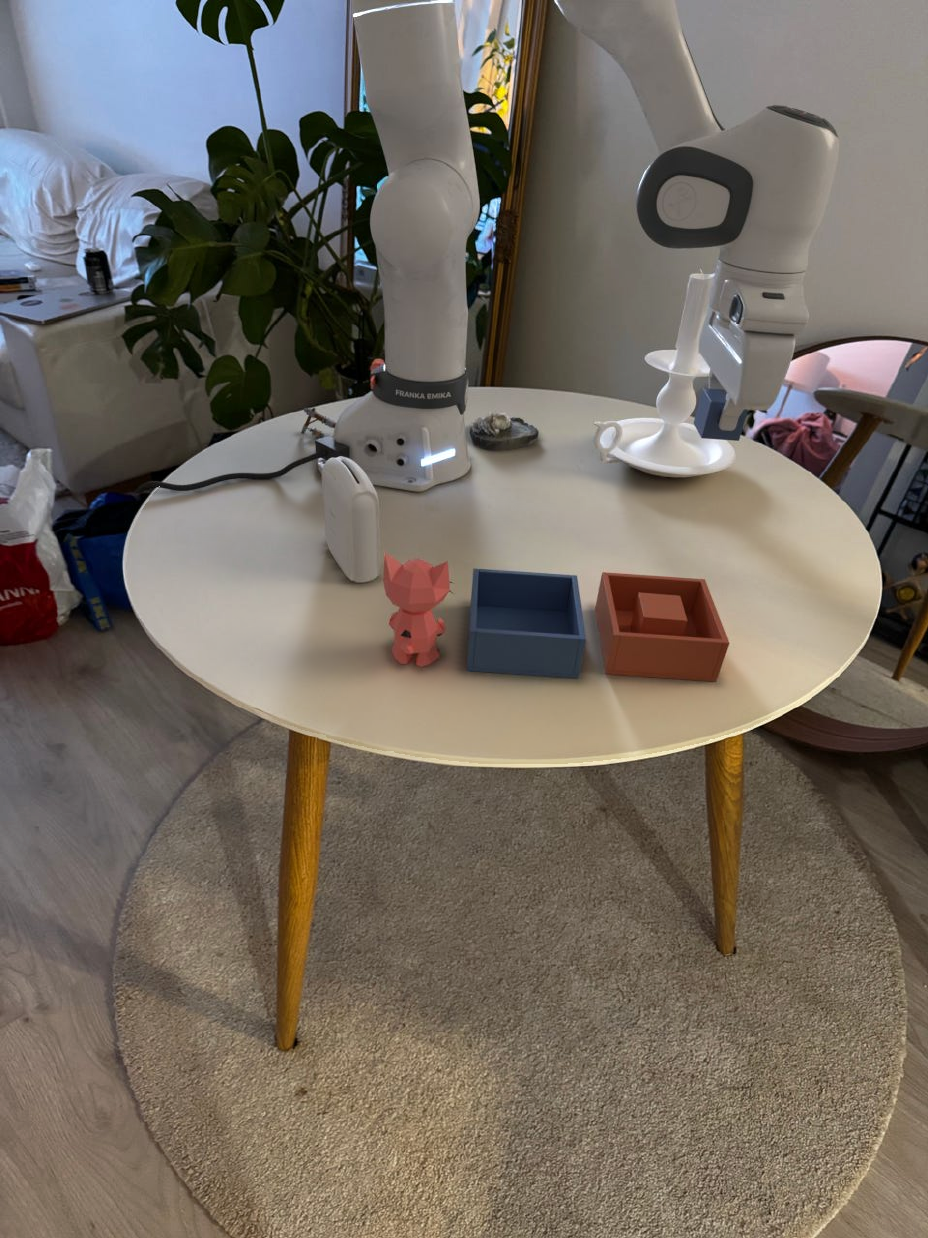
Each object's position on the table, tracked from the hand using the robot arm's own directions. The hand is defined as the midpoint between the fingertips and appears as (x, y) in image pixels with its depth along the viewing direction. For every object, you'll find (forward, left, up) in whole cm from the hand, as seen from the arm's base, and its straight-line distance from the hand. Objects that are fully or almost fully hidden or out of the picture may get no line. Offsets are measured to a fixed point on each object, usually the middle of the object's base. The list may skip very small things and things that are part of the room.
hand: (719, 418), depth 88 cm
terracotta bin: (-8, -22, -17) cm, 29 cm away
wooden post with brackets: (-51, +25, -17) cm, 60 cm away
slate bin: (-22, -23, -17) cm, 36 cm away
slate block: (0, 0, -2) cm, 2 cm away
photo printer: (-42, -10, -17) cm, 46 cm away
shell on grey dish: (-24, +30, -17) cm, 42 cm away
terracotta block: (-8, -22, -16) cm, 28 cm away
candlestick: (-1, +23, -17) cm, 29 cm away
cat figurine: (-33, -27, -17) cm, 46 cm away
